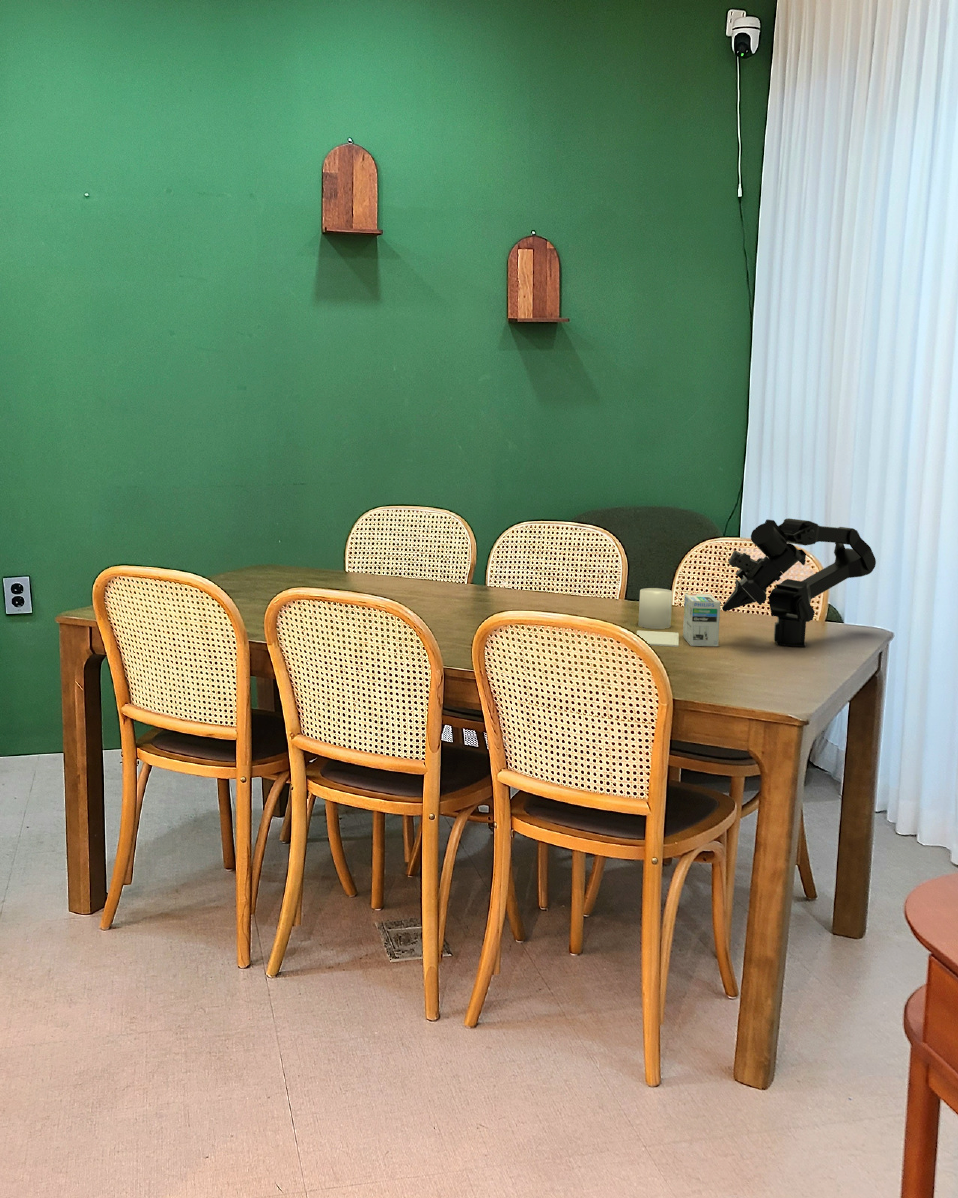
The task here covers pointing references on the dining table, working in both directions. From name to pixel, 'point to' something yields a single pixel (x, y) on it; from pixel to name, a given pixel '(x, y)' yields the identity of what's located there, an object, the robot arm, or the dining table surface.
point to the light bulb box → (701, 620)
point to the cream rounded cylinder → (655, 608)
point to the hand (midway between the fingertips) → (723, 609)
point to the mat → (660, 638)
